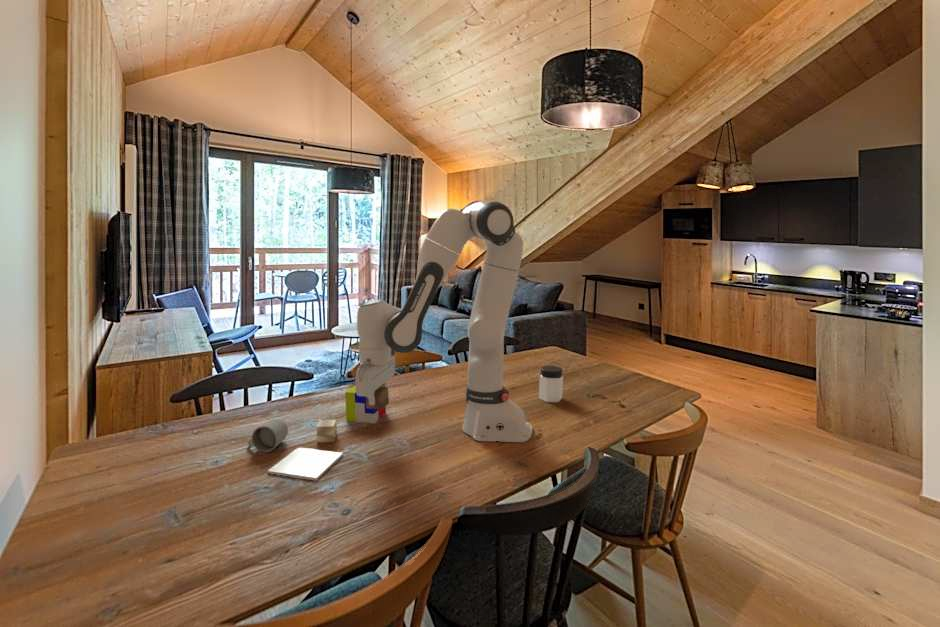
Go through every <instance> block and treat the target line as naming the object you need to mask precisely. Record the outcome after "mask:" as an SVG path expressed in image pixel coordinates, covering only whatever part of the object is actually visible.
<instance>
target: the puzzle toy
mask: <svg viewBox="0 0 940 627" xmlns="http://www.w3.org/2000/svg"><path fill="white" fill-rule="evenodd" d="M344 394H345V395H344V396H345V420H347V422H354V423H355V422H359V423H367V424H376V423H377V421H379V420H380V419H381V418H382V417H383V414H384V413H385V412H386V411H387V409H386V408H387V405H386V406H385V407H384V408H383V409H368V408H366V396H358V395H357V394H356V387H355V385H353V386H352V387H351V388H349V389H348V390H346V391H345V393H344ZM385 414H386V413H385ZM385 414H384V415H385Z"/></svg>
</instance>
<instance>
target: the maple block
mask: <svg viewBox="0 0 940 627" xmlns="http://www.w3.org/2000/svg"><path fill="white" fill-rule="evenodd" d="M337 424H338V423H337V419H319V420H318V423H317V425H316V443H331V442H332V443H333V442H335V441H336V439H337V438H336V437H337V436H338V432H337V431H338V429H337V427H338V426H337ZM335 438H336V439H335Z"/></svg>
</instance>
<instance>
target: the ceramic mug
mask: <svg viewBox="0 0 940 627" xmlns="http://www.w3.org/2000/svg"><path fill="white" fill-rule="evenodd" d="M288 432H289V427H288V425H287V424H286V422H285V421H283V420H282V419H279V418H273V419H270V420H267V421H266V422H265V423H263V424H261V425H259V426H257V428H255V429H254V430H253V432H252V434H251V438H250V439H249V440H248V441H247V445H248V447H249V448H250V447H252V448H253V447H254V448H255V449H256V450H258V451H260V452H262V451H263V453H269V452H271V451H273V450H275V449H276V447H278V446H279V445H280V444H281V443H282V442H283V441H284V440H285V439H286V437H288V436H287V435H288Z"/></svg>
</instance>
